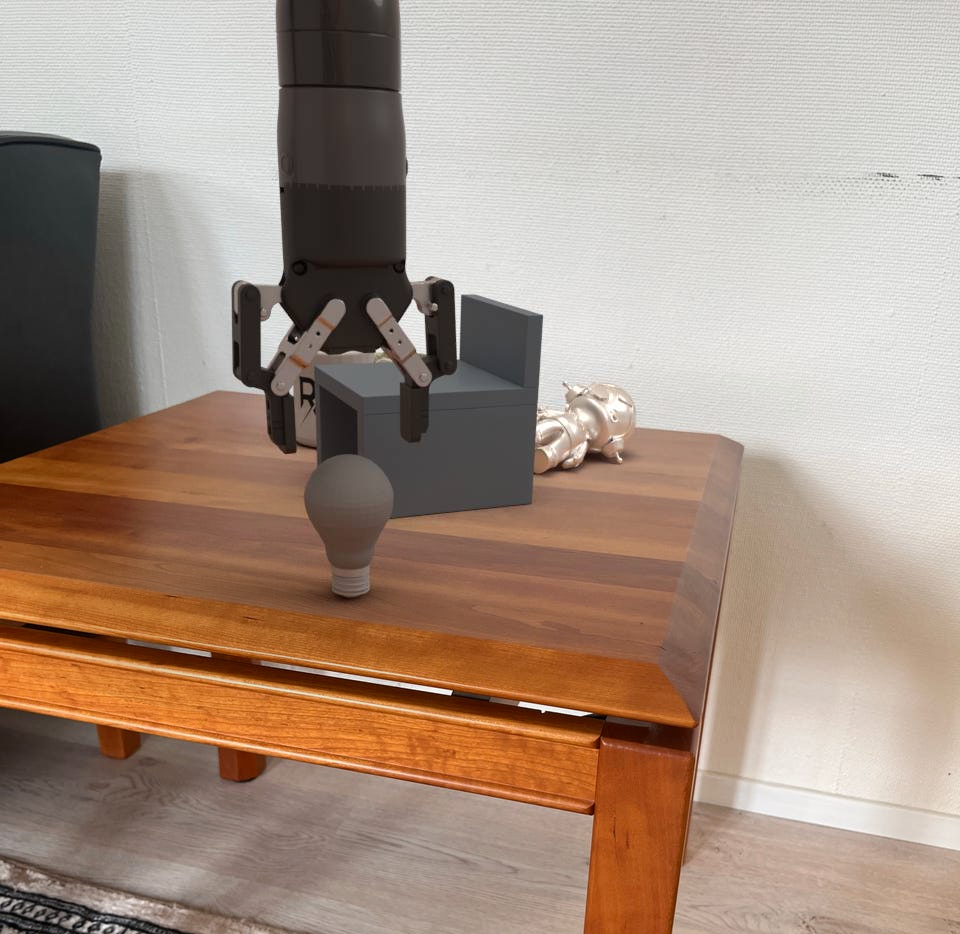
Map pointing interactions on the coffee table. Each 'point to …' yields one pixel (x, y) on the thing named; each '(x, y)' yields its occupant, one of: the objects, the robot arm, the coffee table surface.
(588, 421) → the figurine
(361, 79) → the robot arm
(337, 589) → the light bulb
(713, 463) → the coffee table surface
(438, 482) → the grey toy chair
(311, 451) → the coffee table surface
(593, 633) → the coffee table surface
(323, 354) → the mug
